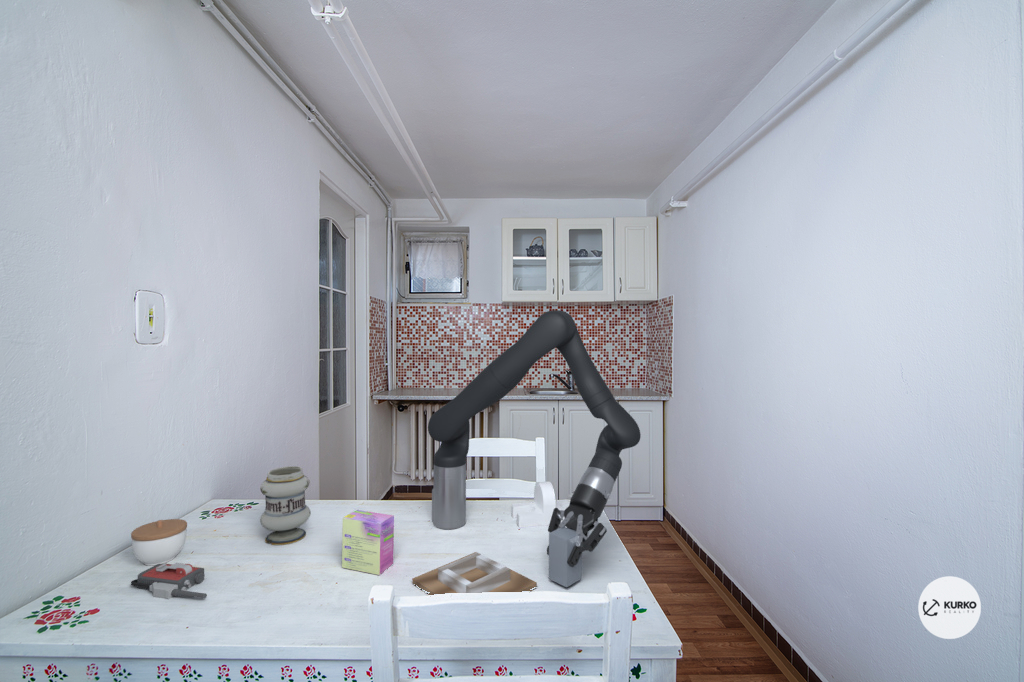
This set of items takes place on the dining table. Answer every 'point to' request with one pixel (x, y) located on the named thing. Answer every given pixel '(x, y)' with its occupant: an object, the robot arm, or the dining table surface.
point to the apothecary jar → (285, 505)
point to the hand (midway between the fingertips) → (559, 560)
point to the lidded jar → (159, 541)
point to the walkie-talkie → (171, 580)
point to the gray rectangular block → (563, 557)
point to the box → (367, 541)
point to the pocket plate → (473, 577)
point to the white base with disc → (538, 507)
